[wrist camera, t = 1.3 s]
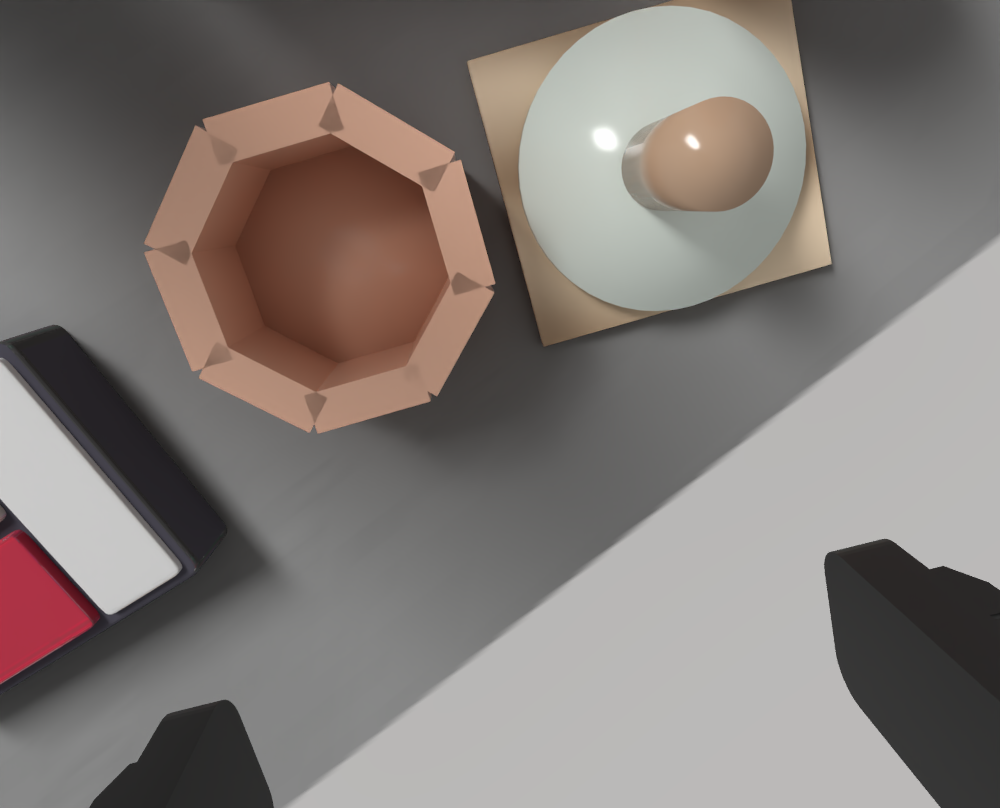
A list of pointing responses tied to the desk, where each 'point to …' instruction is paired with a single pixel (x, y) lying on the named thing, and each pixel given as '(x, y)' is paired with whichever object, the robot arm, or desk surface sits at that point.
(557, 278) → the mat
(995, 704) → the robot arm
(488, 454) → the desk surface
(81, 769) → the desk surface
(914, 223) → the desk surface
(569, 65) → the lid
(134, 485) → the calculator
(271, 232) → the bowl
